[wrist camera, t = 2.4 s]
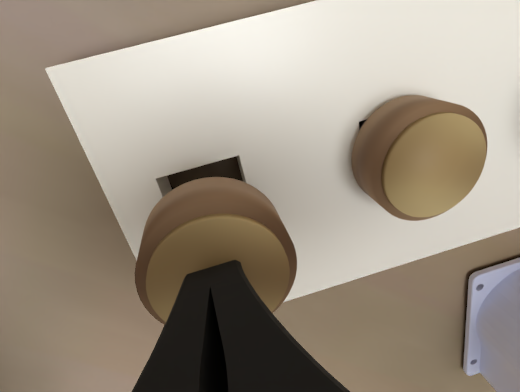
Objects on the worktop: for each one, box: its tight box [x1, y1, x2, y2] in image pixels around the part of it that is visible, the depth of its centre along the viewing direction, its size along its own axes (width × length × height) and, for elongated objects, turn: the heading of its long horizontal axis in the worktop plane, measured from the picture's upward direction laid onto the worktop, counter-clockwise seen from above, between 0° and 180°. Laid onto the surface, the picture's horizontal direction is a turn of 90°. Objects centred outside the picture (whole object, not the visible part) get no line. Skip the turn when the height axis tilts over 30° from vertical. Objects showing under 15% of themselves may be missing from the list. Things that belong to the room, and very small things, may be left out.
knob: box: [135, 177, 297, 325], centre depth 11 cm, size 4×4×5 cm
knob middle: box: [351, 95, 487, 221], centre depth 14 cm, size 4×4×5 cm
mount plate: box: [45, 0, 520, 302], centre depth 15 cm, size 12×23×2 cm, turn 102°
